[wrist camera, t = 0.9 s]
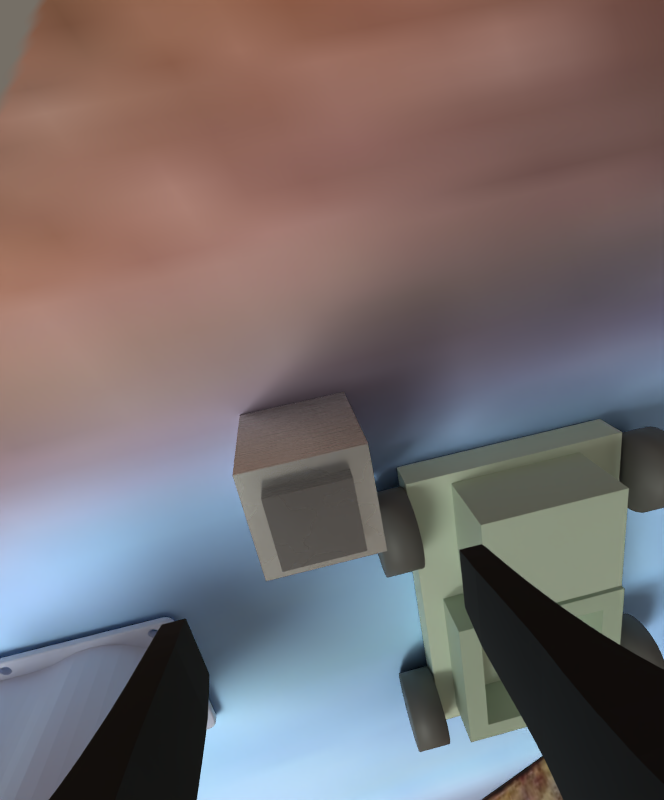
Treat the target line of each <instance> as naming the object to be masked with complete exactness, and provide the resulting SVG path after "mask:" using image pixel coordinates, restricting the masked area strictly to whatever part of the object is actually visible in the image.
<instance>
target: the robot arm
mask: <svg viewBox="0 0 664 800" xmlns="http://www.w3.org/2000/svg"><path fill="white" fill-rule="evenodd" d="M459 553H460V563H461V573H462V583H463V593H464V603H465V609H466V611H467V614H468V616H469V618H470V621H471V623H472V625H473V628H474V630H475V632H476V634H477V637H478V639H479V641H480V643H481V646H482V648H483V649H484V651H485V653H486V655H487V657H488V658H489V660H490V662H491V664H492V666H493V667H494V669H495V671H496V673H497V674H498V676H499V678H500V680H501V681H502V683H503V685H504V687H505V689H506V690H507V692H508V694H509V696H510V697H511V699H512V701H513V703H514V704H515V706H516V708H517V710H518V711H519V713H520V715H521V717H522V718H523V720H524V722H525V724H526V725H527V727H528V729H529V731H530V733H531V734H532V736H533V738H534V740H535V742H536V744H537V746H538V748H539V750H540V751H541V753H542V755H543V757H544V759H545V762H546V764H547V766H548V768H549V770H550V772H551V774H552V777H553V779H554V781H555V783H556V785H557V787H558V789H559V792H560V794H561V796H562V798H563V800H664V669H662V668H660V667H658V666H656V665H654V664H653V663H651V662H649V661H647V660H645V659H644V658H642V657H640V656H638V655H636V654H635V653H633V652H631V651H630V650H628V649H626V648H625V647H623V646H621V645H619V644H618V643H616V642H614V641H613V640H611V639H610V638H608V637H606V636H605V635H603V634H602V633H600V632H598V631H597V630H595V629H594V628H592V627H591V626H589V625H588V624H586V623H585V622H583V621H582V620H580V619H579V618H577V617H576V616H574V615H573V614H571V613H570V612H569V611H567V610H566V609H564V608H563V607H561V606H560V605H559V604H557V603H556V602H555V601H553V600H552V599H551V598H549V597H548V596H546V595H545V594H544V593H542V592H541V591H540V590H538V589H537V588H536V587H534V586H533V585H532V584H531V583H529V582H528V581H527V580H525V579H524V578H523V577H522V576H520V575H519V574H518V573H517V572H515V571H514V570H513V569H512V568H510V567H509V566H508V565H507V564H506V563H504V562H503V561H502V560H501V559H500V558H498V557H497V556H496V555H495V554H494V553H492V552H491V551H490V550H489V549H488V548H487V547H485V546H484V545H482V544H480V545H476V546H472V547H468V548H464V549H460V550H459ZM153 629H155V630H158V631H153ZM215 723H216V714H215V712H214V710H213V707H212V705H211V703H210V700H209V672H208V670H207V668H206V665H205V663H204V661H203V658H202V656H201V653H200V651H199V649H198V646H197V644H196V642H195V639H194V637H193V634H192V632H191V630H190V627H189V625H188V623H187V620H186V619H182V620H178V621H174V620H173V619H171V618H168V617H163V618H158V619H154V620H151V621H147V622H143V623H139V624H135V625H131V626H127V627H123V628H119V629H115V630H111V631H107V632H103V633H99V634H95V635H91V636H87V637H83V638H79V639H75V640H71V641H67V642H63V643H59V644H55V645H51V646H47V647H43V648H39V649H35V650H31V651H27V652H23V653H19V654H15V655H11V656H7V657H3V658H0V800H197V794H198V787H199V780H200V773H201V766H202V759H203V751H204V744H205V737H206V730H207V729H210V728H212V727H213V726H214V725H215Z"/></svg>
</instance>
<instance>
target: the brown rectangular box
mask: <svg viewBox="0 0 664 800" xmlns="http://www.w3.org/2000/svg"><path fill="white" fill-rule="evenodd" d="M483 800H563V798H562V796H561V794H560V792H559V789H558V787H557V785H556V783H555V781H554V779H553V777H552V774H551V772H550V770H549V768H548V766H547V764H546V762H545V759H544V757H542V758H540V759H539V760H538V761H536V762H535V763H533V764H532V765H531V766H529V767H528V768H526V769H525V770H524V771H522V772H521V773H519V774H518V775H517V776H515V777H514V778H512V779H511V780H509V781H508V782H507V783H505V784H504V785H502V786H501V787H500V788H498V789H497V790H495V791H494V792H493V793H491V794H490V795H488V796H487V797H485V798H484V799H483Z"/></svg>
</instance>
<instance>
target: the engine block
mask: <svg viewBox="0 0 664 800" xmlns="http://www.w3.org/2000/svg"><path fill="white" fill-rule="evenodd" d="M233 478H234V482H235V485H236V488H237V491H238V494H239V497H240V500H241V504H242V507H243V510H244V513H245V516H246V519H247V523H248V526H249V529H250V532H251V535H252V538H253V542H254V545H255V548H256V551H257V554H258V557H259V561H260V564H261V567H262V570H263V573H264V576H265V580H266V581H269V580H273V579H277V578H281V577H285V576H289V575H293V574H297V573H301V572H305V571H309V570H313V569H317V568H321V567H325V566H329V565H333V564H337V563H341V562H345V561H349V560H353V559H357V558H361V557H365V556H369V555H373V554H377V553H381V552H385V551H387V547H386V541H385V536H384V530H383V525H382V519H381V513H380V508H379V502H378V496H377V491H376V485H375V479H374V474H373V468H372V463H371V457H370V451H369V446H368V442H367V440H366V438H365V436H364V434H363V432H362V429H361V427H360V425H359V423H358V421H357V419H356V417H355V415H354V412H353V410H352V408H351V406H350V404H349V402H348V400H347V398H346V395H345V393H344V392H340V393H335V394H331V395H327V396H322V397H318V398H314V399H309V400H305V401H300V402H296V403H292V404H287V405H283V406H278V407H274V408H270V409H265V410H261V411H257V412H252V413H248V414H243V415H240V418H239V426H238V434H237V443H236V451H235V460H234V468H233Z"/></svg>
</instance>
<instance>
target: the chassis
mask: <svg viewBox="0 0 664 800" xmlns="http://www.w3.org/2000/svg"><path fill="white" fill-rule="evenodd" d="M397 473H398V480H399V486H400V487H396V488H391V489H387V490H383V491H379V492H377V496H378V502H379V508H380V513H381V519H382V525H383V530H384V536H385V541H386V547H387V551H385V552H381V553H378V555H379V558H380V562H381V565H382V568H383V570H384V573H385V575H386V577H387V578H388V577H392V576H396V575H400V574H404V573H408V572H412V571H413V577H414V584H415V590H416V597H417V603H418V610H419V616H420V623H421V629H422V636H423V642H424V649H425V655H426V662H427V666H425V667H421V668H418V669H414V670H410V671H406V672H403V673H399V678H400V684H401V688H402V693H403V697H404V701H405V705H406V709H407V713H408V716H409V720H410V724H411V727H412V731H413V734H414V738H415V741H416V744H417V747H418V749H419V752H422V751H426V750H429V749H433V748H436V747H440V746H444V745H447V744H450V736H449V731H448V726H447V722H446V719H450V718H453V717H457V716H461V718H462V721H463V723H464V726H465V728H466V731H467V733H468V736H469V738H470V741H471V742H474V741H477V740H481V739H485V738H488V737H492V736H495V735H499V734H503V733H506V732H510V731H513V730H517V729H521V728H524V727H527V725H526V724H525V722H524V720H523V718H522V717H521V715H520V713H519V711H518V710H517V708H516V706H515V704H514V703H513V701H512V699H511V697H510V696H509V694H508V692H507V690H506V689H505V687H504V685H503V683H502V681H501V680H500V678H499V676H498V674H497V673H496V671H495V669H494V667H493V666H492V664H491V662H490V660H489V658H488V657H487V655H486V653H485V651H484V649H483V648H482V646H481V643H480V641H479V639H478V637H477V634H476V632H475V630H474V628H473V625H472V623H471V621H470V618H469V616H468V614H467V611H466V609H465V603H464V593H463V583H462V573H461V563H460V553H459V550H460V549H464V548H468V547H472V546H476V545H480V544H482V545H484V546H485V547H487V548H488V549H489V550H490V551H491V552H492V553H494V554H495V555H496V556H497V557H498V558H500V559H501V560H502V561H503V562H504V563H506V564H507V565H508V566H509V567H510V568H512V569H513V570H514V571H515V572H517V573H518V574H519V575H520V576H522V577H523V578H524V579H525V580H527V581H528V582H529V583H531V584H532V585H533V586H534V587H536V588H537V589H538V590H540V591H541V592H542V593H544V594H545V595H546V596H548V597H549V598H551V599H552V600H553V601H555V602H556V603H557V604H559V605H560V606H561V607H563V608H564V609H566V610H567V611H569V612H570V613H571V614H573V615H574V616H576V617H577V618H579V619H580V620H582V621H583V622H585V623H586V624H588V625H589V626H591V627H592V628H594V629H595V630H597V631H598V632H600V633H602V634H603V635H605V636H606V637H608V638H610V639H611V640H613V641H614V642H616V643H618V644H619V645H621V646H623V647H625V648H626V649H628V650H630V651H631V652H633V653H635V654H636V655H638V656H640V657H642V658H644V659H645V660H647V661H649V662H651V663H653V664H654V665H656V666H658V667H660V668H662V669H664V659H663V657H662V654H661V652H660V650H659V648H658V646H657V644H656V642H655V641H654V639H653V637H652V636H651V635H650V633H649V632H648V631H647V629H646V628H645V627H644V626H643V625H642V624H641V623H640V622H639V621H638V620H637V619H636V618H634V617H633V616H631V615H629V614H623V602H624V588H623V587H622V586H621V585H622V574H623V560H624V547H625V533H626V520H627V508H629V509H631V510H633V511H635V512H641V513H643V512H648V511H652V510H656V509H660V508H664V431H663V430H661V429H659V428H655V427H643V428H639V429H635V430H631V431H627V432H623V433H622V432H621V431H619V430H618V429H616V428H614V427H613V426H611V425H609V424H607V423H606V422H604V421H602V420H601V419H597V420H593V421H588V422H584V423H580V424H576V425H572V426H567V427H563V428H559V429H555V430H551V431H547V432H542V433H538V434H534V435H530V436H526V437H522V438H517V439H513V440H509V441H505V442H501V443H496V444H492V445H488V446H484V447H480V448H476V449H471V450H467V451H463V452H459V453H455V454H451V455H446V456H442V457H438V458H434V459H430V460H426V461H421V462H417V463H413V464H409V465H405V466H400V467H397Z"/></svg>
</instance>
